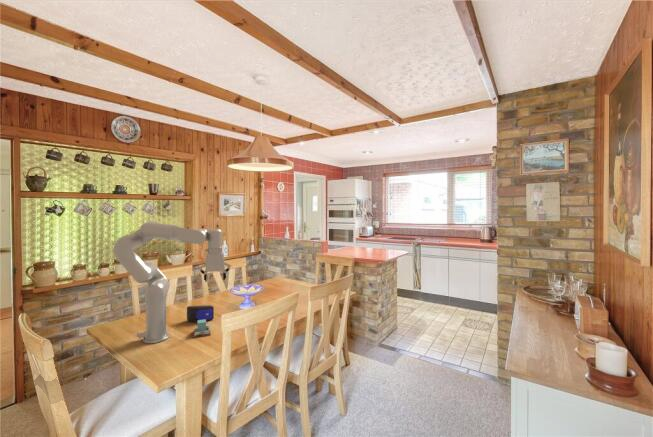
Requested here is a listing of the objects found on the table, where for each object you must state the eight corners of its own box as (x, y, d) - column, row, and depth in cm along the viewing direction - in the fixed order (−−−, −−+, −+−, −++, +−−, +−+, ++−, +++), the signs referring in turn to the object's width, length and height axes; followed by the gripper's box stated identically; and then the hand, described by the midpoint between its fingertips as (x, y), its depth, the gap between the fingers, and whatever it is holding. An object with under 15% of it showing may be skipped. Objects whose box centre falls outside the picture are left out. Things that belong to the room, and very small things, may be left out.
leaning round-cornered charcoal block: (184, 323, 180) (184, 308, 180) (187, 320, 185) (187, 305, 185) (212, 322, 183) (212, 307, 182) (214, 319, 187) (213, 304, 187)
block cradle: (193, 337, 160) (193, 333, 160) (193, 331, 168) (193, 327, 168) (210, 335, 164) (210, 330, 164) (210, 329, 172) (210, 324, 172)
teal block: (197, 333, 163) (197, 323, 163) (197, 330, 167) (197, 320, 167) (206, 332, 165) (206, 322, 165) (205, 329, 169) (205, 319, 169)
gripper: (198, 252, 159) (198, 283, 159) (231, 251, 165) (231, 280, 166) (198, 250, 165) (198, 280, 166) (230, 249, 172) (230, 277, 173)
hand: (215, 280), depth 166 cm, fingers open, 9 cm apart
